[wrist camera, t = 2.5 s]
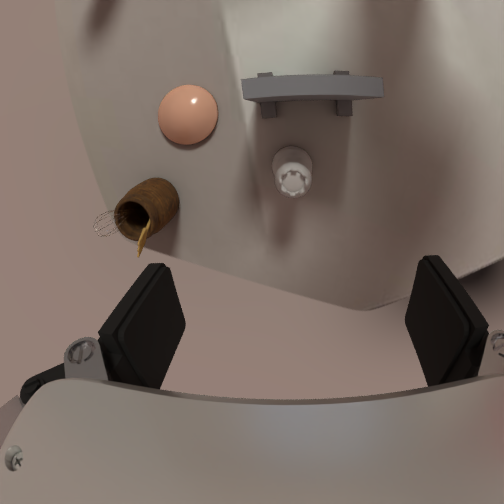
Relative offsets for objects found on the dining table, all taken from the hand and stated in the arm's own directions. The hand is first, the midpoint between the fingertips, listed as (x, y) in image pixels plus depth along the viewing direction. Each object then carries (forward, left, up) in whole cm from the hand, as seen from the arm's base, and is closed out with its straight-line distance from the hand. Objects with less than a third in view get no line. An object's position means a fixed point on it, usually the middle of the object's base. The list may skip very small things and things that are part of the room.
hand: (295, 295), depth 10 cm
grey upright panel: (-2, -8, -23) cm, 25 cm away
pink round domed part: (+11, -7, -23) cm, 27 cm away
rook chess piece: (0, 0, -23) cm, 23 cm away
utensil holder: (+16, +3, -23) cm, 29 cm away
